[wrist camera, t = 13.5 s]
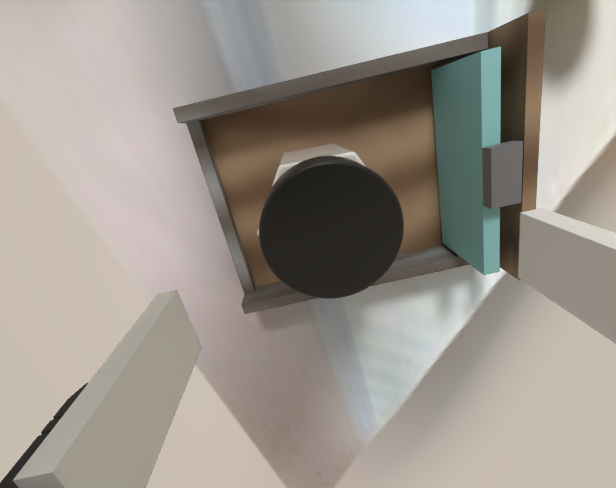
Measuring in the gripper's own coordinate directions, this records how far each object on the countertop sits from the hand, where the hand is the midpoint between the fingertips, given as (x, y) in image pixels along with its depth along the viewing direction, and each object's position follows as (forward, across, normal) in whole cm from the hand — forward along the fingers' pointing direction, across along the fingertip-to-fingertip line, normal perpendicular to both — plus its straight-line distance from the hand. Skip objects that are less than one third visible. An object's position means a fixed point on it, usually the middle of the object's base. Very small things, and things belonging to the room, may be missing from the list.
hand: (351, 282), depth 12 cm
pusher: (+17, +12, 0) cm, 21 cm away
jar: (+18, 0, 0) cm, 18 cm away
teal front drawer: (+18, +3, 0) cm, 19 cm away
